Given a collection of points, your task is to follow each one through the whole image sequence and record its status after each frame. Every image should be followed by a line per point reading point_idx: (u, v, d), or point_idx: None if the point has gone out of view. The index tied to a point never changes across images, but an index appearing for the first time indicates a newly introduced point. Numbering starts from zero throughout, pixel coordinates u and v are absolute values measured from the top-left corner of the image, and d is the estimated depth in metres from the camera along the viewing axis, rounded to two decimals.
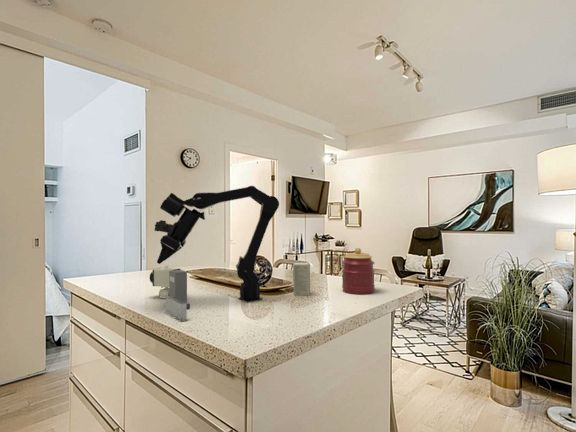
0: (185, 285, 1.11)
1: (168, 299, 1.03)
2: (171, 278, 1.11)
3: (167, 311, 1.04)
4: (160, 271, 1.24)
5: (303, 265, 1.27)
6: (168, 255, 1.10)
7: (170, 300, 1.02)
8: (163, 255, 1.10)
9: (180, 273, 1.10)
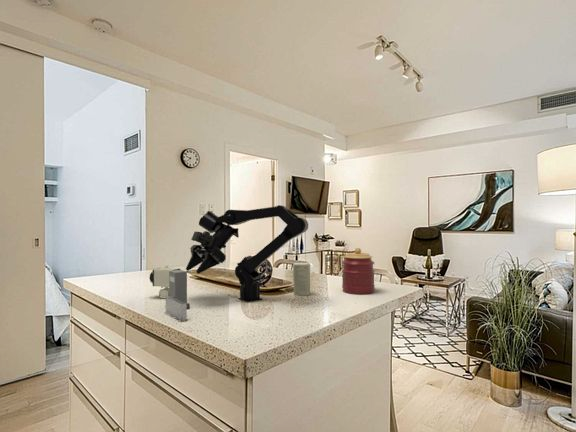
0: (185, 285, 1.11)
1: (168, 299, 1.03)
2: (171, 278, 1.11)
3: (167, 311, 1.04)
4: (160, 271, 1.24)
5: (303, 265, 1.27)
6: (209, 266, 1.14)
7: (170, 300, 1.02)
8: (205, 266, 1.13)
9: (180, 273, 1.10)
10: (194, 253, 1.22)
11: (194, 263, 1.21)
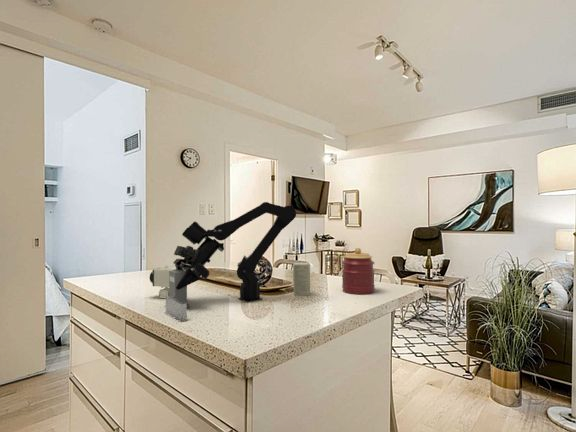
0: None
1: (168, 299, 1.03)
2: (171, 277, 1.11)
3: (167, 311, 1.04)
4: (160, 271, 1.24)
5: (303, 265, 1.27)
6: (190, 282, 1.11)
7: (170, 300, 1.02)
8: (185, 281, 1.10)
9: (180, 273, 1.10)
10: (179, 268, 1.16)
11: None
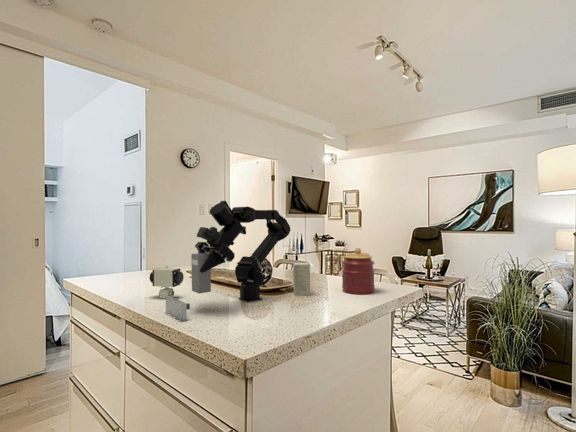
0: None
1: (168, 299, 1.03)
2: (194, 260, 1.05)
3: (167, 311, 1.04)
4: (160, 271, 1.23)
5: (303, 265, 1.27)
6: (214, 265, 1.05)
7: (170, 300, 1.02)
8: (209, 264, 1.04)
9: (203, 255, 1.04)
10: (201, 251, 1.10)
11: None
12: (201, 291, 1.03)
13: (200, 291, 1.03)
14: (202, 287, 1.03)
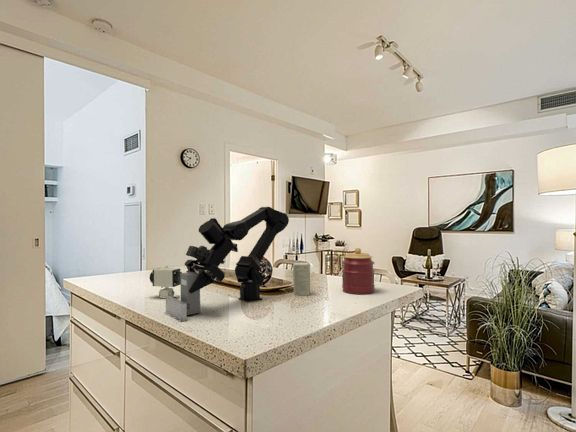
0: None
1: (168, 299, 1.03)
2: (183, 280, 1.03)
3: (167, 311, 1.04)
4: (160, 271, 1.24)
5: (303, 265, 1.27)
6: (204, 285, 1.02)
7: (170, 300, 1.02)
8: (199, 284, 1.01)
9: (193, 275, 1.01)
10: (191, 270, 1.07)
11: None
12: (190, 312, 1.01)
13: (189, 312, 1.00)
14: (191, 308, 1.01)
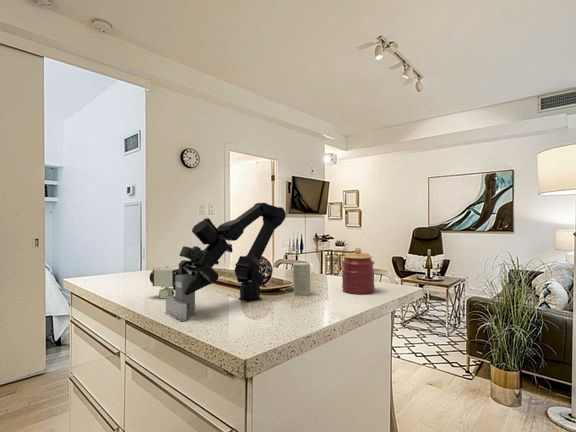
0: None
1: (168, 299, 1.03)
2: (178, 283, 1.01)
3: (167, 311, 1.04)
4: (160, 271, 1.24)
5: (303, 265, 1.27)
6: (200, 287, 0.99)
7: (170, 300, 1.02)
8: (194, 286, 0.99)
9: (188, 278, 1.00)
10: (183, 270, 1.07)
11: None
12: None
13: None
14: None
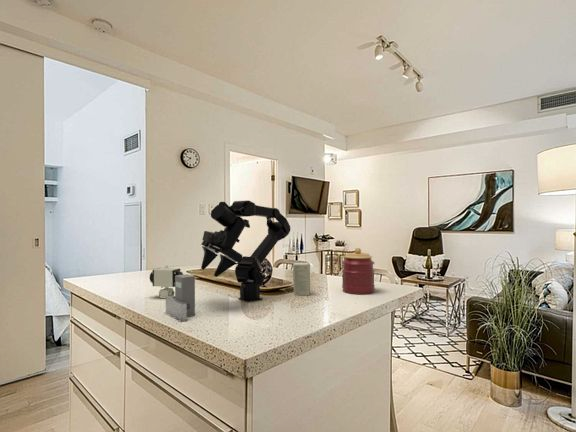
0: (193, 291, 1.01)
1: (168, 299, 1.03)
2: (178, 283, 1.01)
3: (167, 311, 1.04)
4: (160, 271, 1.24)
5: (303, 265, 1.27)
6: (227, 268, 1.08)
7: (170, 300, 1.02)
8: (222, 268, 1.07)
9: (187, 278, 1.00)
10: (207, 250, 1.15)
11: (208, 261, 1.16)
12: None
13: None
14: None
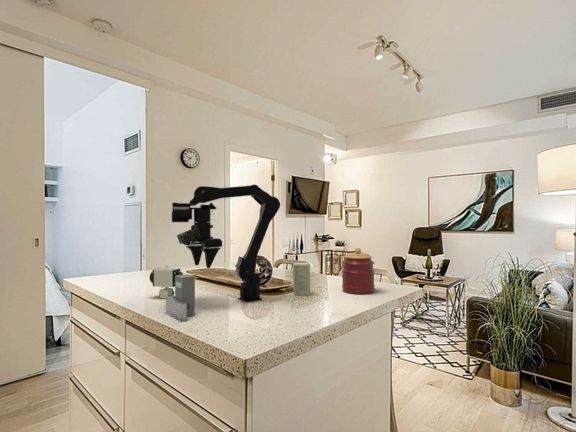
0: (193, 291, 1.01)
1: (168, 299, 1.03)
2: (178, 283, 1.01)
3: (167, 311, 1.04)
4: (160, 271, 1.24)
5: (303, 265, 1.27)
6: (214, 255, 1.12)
7: (170, 300, 1.02)
8: (210, 258, 1.12)
9: (187, 278, 1.00)
10: (191, 248, 1.19)
11: (198, 255, 1.20)
12: None
13: None
14: None
